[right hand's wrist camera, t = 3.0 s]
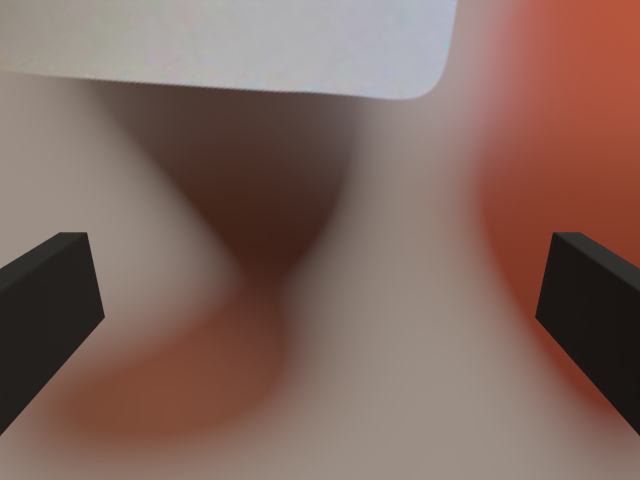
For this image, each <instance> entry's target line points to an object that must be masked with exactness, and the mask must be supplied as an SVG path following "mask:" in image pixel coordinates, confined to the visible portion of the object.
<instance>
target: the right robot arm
mask: <svg viewBox="0 0 640 480" xmlns="http://www.w3.org/2000/svg"><path fill="white" fill-rule="evenodd" d="M104 318H105V315H104V311H103V306H102V301H101V297H100V292H99V287H98V283H97V278H96V273H95V268H94V264H93V259H92V254H91V250H90V245H89V240H88V235H87V233H86V232H60V233H58V234H56V235H55V236H53V237H52V238H50V239H48V240H47V241H45V242H43V243H42V244H40V245H38V246H37V247H35V248H34V249H32V250H30V251H29V252H27V253H25V254H24V255H22V256H21V257H19V258H17V259H16V260H14V261H12V262H11V263H9V264H7V265H6V266H4V267H3V268H1V269H0V436H1V434H2V433H3V432H4V431H5V430H6V429H7V428H8V427H9V425H10V424H11V423H12V422H13V421H14V420H15V419H16V417H17V416H18V415H19V414H20V413H21V412H22V411H23V410H24V408H25V407H26V406H27V405H28V404H29V403H30V402H31V400H32V399H33V398H34V397H35V396H36V395H37V394H38V393H39V391H40V390H41V389H42V388H43V387H44V386H45V385H46V383H47V382H48V381H49V380H50V379H51V378H52V377H53V375H54V374H55V373H56V372H57V371H58V370H59V369H60V368H61V366H62V365H63V364H64V363H65V362H66V361H67V360H68V358H69V357H70V356H71V355H72V354H73V353H74V352H75V350H76V349H77V348H78V347H79V346H80V345H81V344H82V343H83V341H84V340H85V339H86V338H87V337H88V336H89V335H90V334H91V332H92V331H93V330H94V329H95V328H96V327H97V326H98V324H99V323H100V322H101V321H102V320H103V319H104ZM535 318H536V319H537V320H538V321H539V322H540V323H541V324H542V326H543V327H544V328H545V329H546V330H547V331H548V332H549V334H550V335H551V336H552V337H553V338H554V339H555V340H556V341H557V343H558V344H559V345H560V346H561V347H562V348H563V349H564V350H565V352H566V353H567V354H568V355H569V356H570V357H571V358H572V360H573V361H574V362H575V363H576V364H577V365H578V366H579V368H580V369H581V370H582V371H583V372H584V373H585V374H586V375H587V377H588V378H589V379H590V380H591V381H592V382H593V383H594V385H595V386H596V387H597V388H598V389H599V390H600V391H601V393H602V394H603V395H604V396H605V397H606V398H607V399H608V400H609V402H610V403H611V404H612V405H613V406H614V407H615V408H616V410H617V411H618V412H619V413H620V414H621V415H622V416H623V417H624V419H625V420H626V421H627V422H628V423H629V424H630V425H631V426H632V428H633V429H634V430H635V431H636V432H637V433H638V434H639V436H640V269H639V268H638V267H636V266H634V265H633V264H631V263H629V262H628V261H626V260H624V259H623V258H621V257H620V256H618V255H616V254H615V253H613V252H611V251H610V250H608V249H606V248H605V247H603V246H602V245H600V244H598V243H597V242H595V241H593V240H592V239H590V238H588V237H587V236H585V235H584V234H582V233H580V232H554V233H553V235H552V240H551V245H550V250H549V254H548V259H547V264H546V268H545V273H544V278H543V282H542V287H541V292H540V297H539V301H538V306H537V311H536V316H535Z"/></svg>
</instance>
